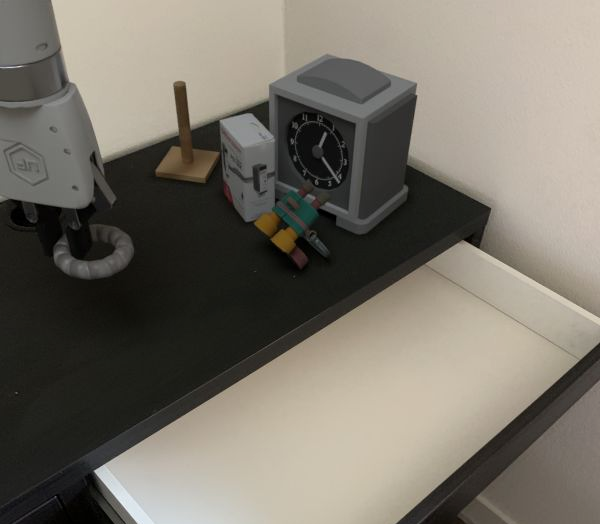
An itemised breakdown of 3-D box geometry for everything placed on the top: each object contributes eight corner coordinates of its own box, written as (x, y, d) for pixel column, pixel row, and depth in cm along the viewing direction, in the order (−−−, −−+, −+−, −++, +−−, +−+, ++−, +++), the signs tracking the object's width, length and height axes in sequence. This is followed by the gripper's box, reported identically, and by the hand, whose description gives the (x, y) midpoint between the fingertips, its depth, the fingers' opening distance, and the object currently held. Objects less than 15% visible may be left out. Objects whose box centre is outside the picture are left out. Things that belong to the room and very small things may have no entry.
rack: (155, 176, 102) (142, 92, 93) (173, 151, 108) (162, 68, 98) (205, 183, 102) (197, 98, 92) (220, 157, 107) (214, 75, 97)
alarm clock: (261, 191, 100) (258, 66, 87) (312, 157, 107) (317, 36, 94) (362, 236, 93) (376, 108, 80) (410, 196, 100) (430, 72, 87)
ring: (42, 275, 67) (37, 261, 66) (75, 230, 72) (72, 216, 71) (117, 288, 66) (113, 274, 65) (145, 242, 71) (143, 227, 70)
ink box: (222, 194, 100) (217, 117, 91) (251, 186, 101) (249, 110, 92) (246, 224, 95) (242, 146, 86) (276, 215, 96) (276, 138, 87)
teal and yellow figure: (277, 251, 94) (241, 211, 86) (323, 205, 93) (292, 160, 85) (314, 287, 89) (280, 248, 81) (363, 238, 88) (334, 194, 80)
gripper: (-95, 77, 54) (-21, 260, 68) (91, 103, 52) (128, 286, 66) (-45, 41, 59) (15, 219, 73) (127, 64, 57) (154, 243, 71)
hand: (68, 250), depth 69 cm, fingers closed on ring, 2 cm apart
